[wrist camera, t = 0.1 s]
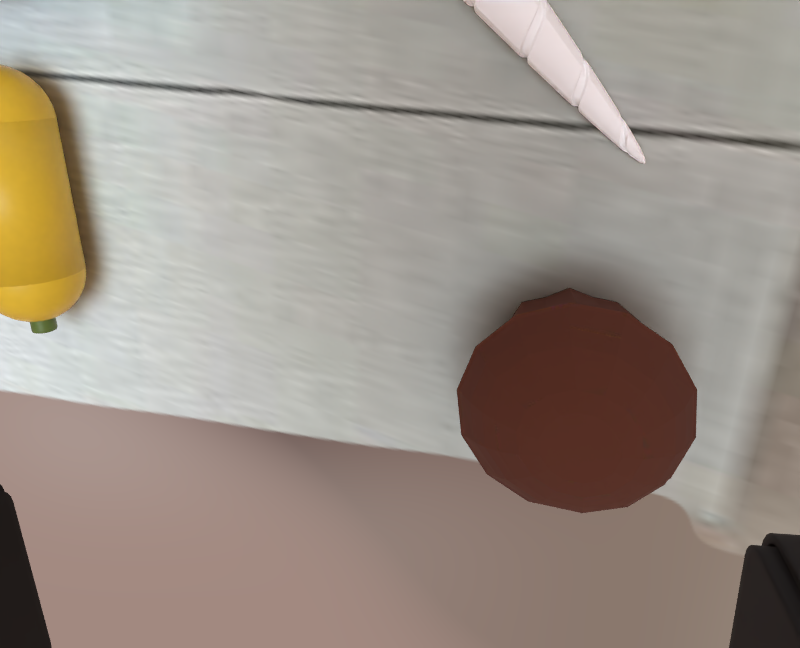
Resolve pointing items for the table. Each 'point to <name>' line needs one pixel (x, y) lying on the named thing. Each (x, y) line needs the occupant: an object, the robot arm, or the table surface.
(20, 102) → the squash
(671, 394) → the muffin
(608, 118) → the unicorn horn
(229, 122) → the table surface
